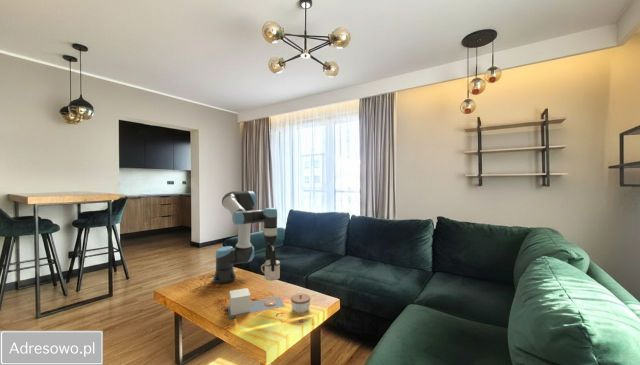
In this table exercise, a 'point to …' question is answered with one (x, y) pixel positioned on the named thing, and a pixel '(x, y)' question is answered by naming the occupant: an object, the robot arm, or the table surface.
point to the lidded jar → (300, 302)
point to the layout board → (261, 306)
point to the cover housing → (240, 301)
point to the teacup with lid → (267, 270)
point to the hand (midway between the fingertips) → (270, 273)
